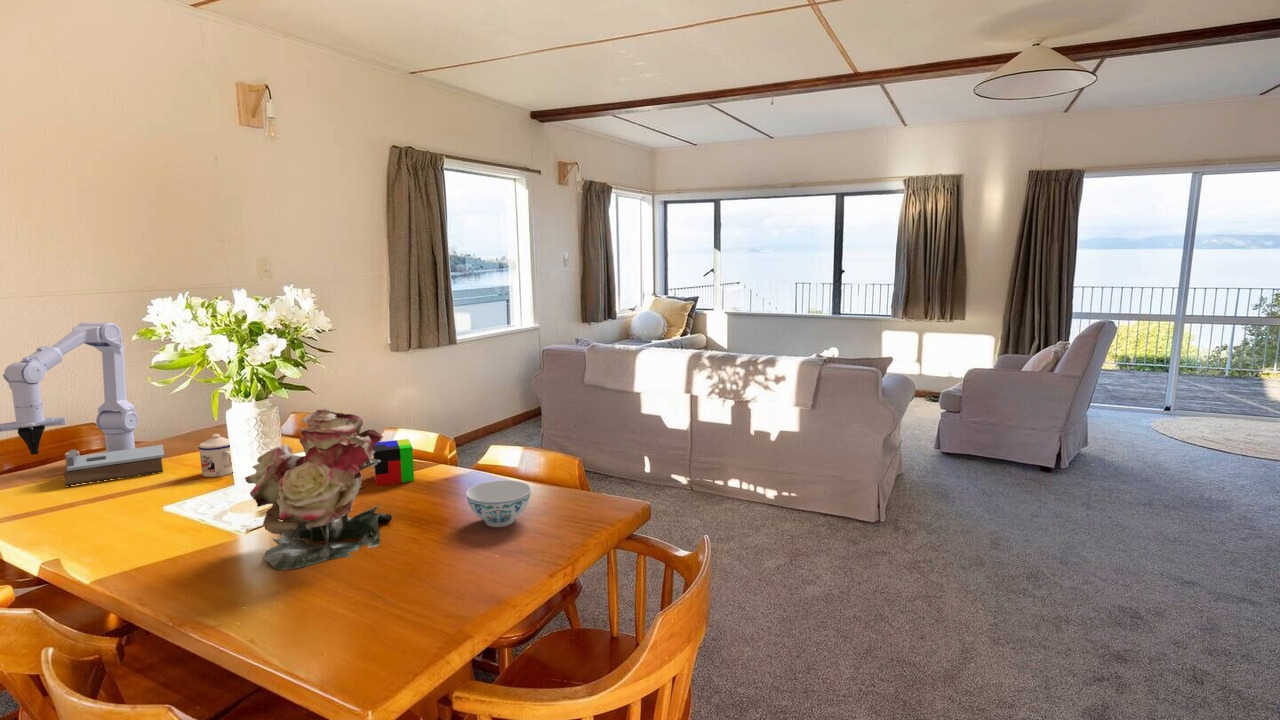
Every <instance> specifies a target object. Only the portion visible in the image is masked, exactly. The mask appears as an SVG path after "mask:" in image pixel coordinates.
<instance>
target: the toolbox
mask: <svg viewBox="0 0 1280 720" xmlns="http://www.w3.org/2000/svg"><path fill="white" fill-rule="evenodd" d="M105 459H106V458H105ZM98 460H103V459H98ZM91 461H96V460H91ZM162 461H163V460H162V458H155V459H148V460H141V461H134V462H127V463H120V464H113V465H106V466H99V467H92V468H85V469H78V470H71V471H67V466H68V462H67V465H66V464H65V468H64V471H63V477H64V484H65V485H64V486H65V487H66V486H71V485H76V484H82V483H89V482H97V481H104V480H110V479H118V478H125V479H128V478H127V477H131V478H134V477H133V476H138V475H144V476H147V475H146V474H151V475H153V474H152V473H157V474H159V473H158V472H163V473H164V470H163V462H162ZM87 462H88V461H87ZM138 477H139V476H138ZM118 480H119V479H118Z"/></svg>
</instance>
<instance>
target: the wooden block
mask: <svg viewBox="0 0 1280 720" xmlns="http://www.w3.org/2000/svg"><path fill="white" fill-rule="evenodd" d="M69 452H70V451H68V452H65V454H64V456H65V466H66V465H67V462H68V460H67V457H68V454H69ZM76 456H81V455H80V451H79V450H76Z"/></svg>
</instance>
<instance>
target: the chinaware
mask: <svg viewBox="0 0 1280 720" xmlns="http://www.w3.org/2000/svg"><path fill="white" fill-rule="evenodd" d="M531 492H532V487H531V486H530V485H529V484H527V483H525V482H522V481H517V480H494V481H486V482H482V483H479V484H477V485H473V486H471V487H470V488H468V489H467V490H466V493H465V495H466V499H467V502H468V505H469V507H470V509H471V511H472V512H473V514H474V515H476V517H478V518H479V519H481V520H483V521H485V522H484V523H485V525H487V526H489V527H491V528H502V527H507V526H510V525H511V524H512V525H513V523H514V522H515V519H516V518H517V517H519V516H520V515H521V514H522V512H523V511H524V510H525V509H526V507H527V506H528V503H529V500H530V496H531Z"/></svg>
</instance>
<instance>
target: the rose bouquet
mask: <svg viewBox="0 0 1280 720" xmlns="http://www.w3.org/2000/svg"><path fill="white" fill-rule="evenodd" d="M301 422H302V424H304V425H306V427H301V428H300V433H301V435H302V436H301V437H300V438H299V443H300V444H301V445H302V448H303V451H304V454H305V455H304V456H300V455H297V454H292V452H293V449H292V447H291V446H288V445H287V444H286V443H285V444H283V445H279V446H277V447H273V448H271V449H270V450H269V451H268V450H267V451H266V452H265V453H264V454H262V455H260V456H258V458H257V464H255V465H253V466H252V468H253V469H254V470H255V473H252V474H250V475H247V476H245V477H244V480H245V482H246V483H247V484H255V486H254V487H253V488H252V489H251V491H250V492H249V494H250V497H251V498H252V499H253V500H254V501H255V503H256V507H257V508H260V507H262V506H266V505H272V506H271V507H270V508H268V509H267V510H266V511H264V512H262V513H261V515H263V514H266V515H265V516H264V519H263V522H262V525H263V526H264V529H265V531H268V532H269V533H270V534H275V535H279V538H273V541H276V542H277V543H278V545H276V546H273V547H271V548H269V549H267V550H266V551H265V554H264V556H263V557H264V558H263V559H264V561H266V562H267V563H269V564H270V565H271V566H272V567H273V568H274V569H275V570H276V571H279V572H280V571H287V570H296V569H300V568H304V567H308V566H312V565H315V564H318V563H321V562H326V561H328V560H329V561H330V560H333V559H334V560H336V559H340V558H342V559H343V558H354V555H352V554H350V553H351V552H356V551H359V550H360V548H361V547H363V546H367V545H368V546H367V548H372V549H374V548H376V547H378V546H380V544H381V532H380V527H379V521H382V520H391V522H392V523H393V521H394V520H393V517H392V514H390V513H382V512H379V513H376V512H377V508H378V507H379V506H380V505H381V503H378V504H377V505H375V506H374V507H372V508H369V509H367V510H365V511H362V512H360V513H358V514H357V515H354V516H353V517H349V516H348V515H349V514H350V513H351V511H352V510H353V504H354V501H355V499H356V497H357V495H358V494H359V491H360V487H361V484H362V479H363V478H362V475H361V471H362V470H364V469H366V468H368V467H369V468H370V467H374V466H375V465H377V463H380V462H381V461H380V460H376V459H373V454H374V453H375V452H376V451H374V449H373V447H374V446H375V445H376V443H377V442H382V440H383V438H384V436H383V435H382V434H381V433H379V432H378V431H377V430H375V429H367V430H364V431H362V432H361V429H362V427H363V425H364V420H363V419H362V418H361V416H359V415H357V414H353V413H344V412H334V410H330V409H329V410H328V409H327V407H324V409H314V410H313V411H312V412H311V413H310V414H307V415H305V416H304V417H303V418H302V419H301ZM389 462H390V461H389ZM298 538H300V539H298ZM304 539H306V540H308V539H309V540H310V542H311V543H321V542H325V544H311V543H310V544H309V543H307V542H306V541H305V540H304ZM358 539H359V541H358ZM349 540H356V541H349ZM347 541H348V542H347Z"/></svg>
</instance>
